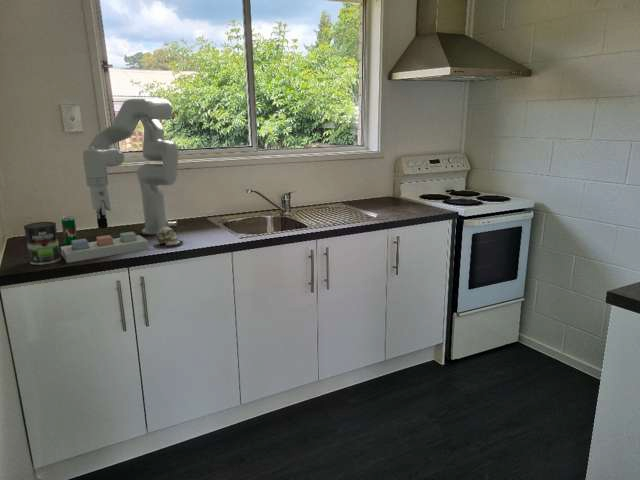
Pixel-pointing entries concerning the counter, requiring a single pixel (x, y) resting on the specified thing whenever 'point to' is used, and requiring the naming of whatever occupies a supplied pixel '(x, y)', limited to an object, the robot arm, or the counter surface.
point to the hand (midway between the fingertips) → (103, 227)
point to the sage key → (128, 237)
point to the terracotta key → (104, 240)
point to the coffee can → (42, 243)
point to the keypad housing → (103, 249)
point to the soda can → (69, 229)
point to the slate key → (79, 244)
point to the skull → (167, 238)
